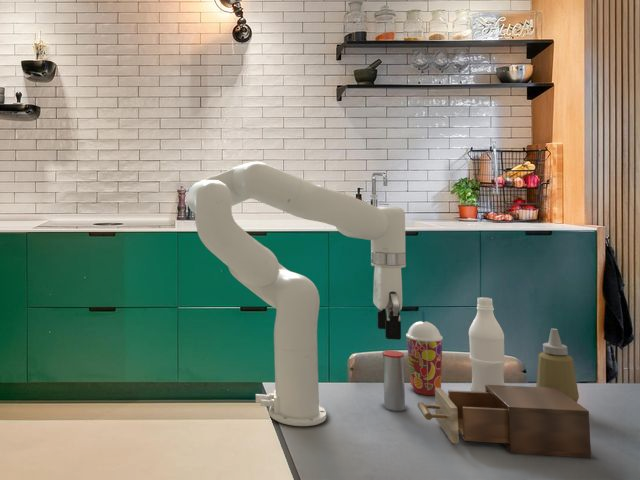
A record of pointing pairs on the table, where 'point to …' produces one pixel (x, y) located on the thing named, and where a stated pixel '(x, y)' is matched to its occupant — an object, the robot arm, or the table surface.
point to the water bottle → (486, 348)
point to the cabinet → (544, 421)
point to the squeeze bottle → (557, 367)
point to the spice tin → (394, 380)
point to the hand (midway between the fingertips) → (388, 333)
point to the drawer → (469, 416)
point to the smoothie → (424, 356)
